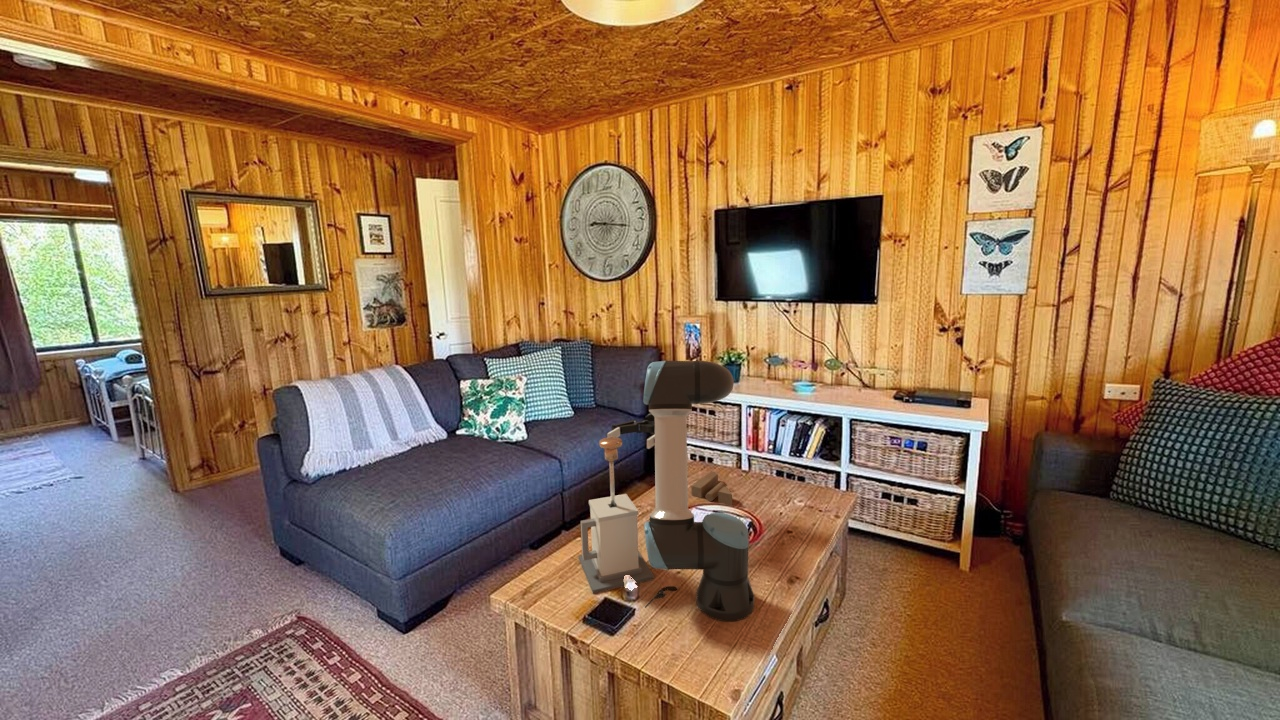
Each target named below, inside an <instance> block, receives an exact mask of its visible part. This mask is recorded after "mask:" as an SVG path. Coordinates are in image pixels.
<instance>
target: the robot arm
mask: <svg viewBox="0 0 1280 720" xmlns="http://www.w3.org/2000/svg"><path fill="white" fill-rule="evenodd" d="M733 388H734V376H733V374H732V373H731V371H730V370H729V369H728V368H727V367H726V366H724V365H722V364H719V363H716V362H712V361H707V360H661V361H653V362H651V363H649V365H648V366H647V368H646V375H645V381H644V388H643V389H644V390H643V401H642V402H643V404H644V405H646V406H648V412H649V413H648V414H647V415H645V417H644V419H643V420H642V421H637V419H635V418H634V419H631V420H629V421H624V422H620V423H617V424H612V425H611V430H610V431H609V432H607V433H606V436H607V437H606V438H608V437H616V438H620V437H621V435H625V434H631V433H636V434H641V433H645V434H650V435H651V436H649V437H648V438H647V439H646V449H647V450H650V449H651V448H653V447H654V471H655V472H654V474H655V475H654V477H655V478H654V484H655V485H654V489H655V490H654V491H655V496H654V498H655V503H654V504H655V507H654V510H653V511H652V512H651V513H649V520H648V521H647V520H646V521H645V522H644V525H643V527H644V528H643V529H644V539H645V547H646V555H647V559H648V563H649V565H650V566H651V567H652V568H654V569H657V570H666V571H669V570H702V575H701V578H700V581H699V584H698V586H697V589H696V597H695V598H696V601H695V602H696V605H697V607H698V609H699V610H700V611H701V612H702V613H703V614H705V615H706V616H707V617H710V618H712V619H714V620H717V621H723V622H725V621H726V622H734V621H740V620H742V619H745V618H747V617H748V616H750V615H751V614H752V612H753V610H754V609H755V594H754V592H753V589H752V588H753V587H752V586H751V582H750V579H749V576H748V575H749V547H750V540H749V530H748V529H749V528H748V527H747V525H746V524H745V523H744V522H743V520H741V519H740V518H737V516H734V515H731V514H728V513H723V512H712V513H710V514H706V515H704V516H703V518H702V521H695V515H694V513H693V512H692V511H691V510H690V509H689V496H688V495H689V494H688V489H689V488H688V485H689V484H688V483H689V482H688V444H687V443H688V439H687V438H688V437H687V418H688V415H690V413H692V411H693V410H692V409H693V406H692V405H694V404H695V405H696V404H697V405H699V404H701V405H703V404H710V403H713V402H714V403H715V402H717V401H721V400H723V399H725V398H727V397H728V396H729V395H730V394H731V392H733V391H732V390H733Z"/></svg>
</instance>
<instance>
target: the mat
mask: <svg viewBox="0 0 1280 720" xmlns="http://www.w3.org/2000/svg"><path fill="white" fill-rule="evenodd" d="M578 560H579V564H580V566H581V568H582V570H583V573H584V575H585V577H586V579H587V582H588V585H589V587H590V591H591V593H592V594H596V593H600V592H605V591H611V590H614V589H618V588H622V587H625V586H624V582H623V579H624V577H621V578H616V579H612V580H608V581H603V582H600V581H599V579H598V576H597V574H596V572H595V570H594V567H593V565H592V563H591V561H590V560H585V561H584V560H583V558H582V554H581V555H578ZM638 564H639V565H640V567H641V569H642V573H638V574H634V575H630V576H631V577H632V578H633V579H634V580H635V581H636V582H637V583H636V584H640V583H644V582H649V581H652V580H655V575H654V573H653V572H652V570H651V568H650V567H649V565H648V564H647V562H646V561H645V559H644V557H643V556H642V554H641V552H640V551H639V550H638ZM632 578H631V579H632Z"/></svg>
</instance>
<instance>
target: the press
mask: <svg viewBox="0 0 1280 720" xmlns="http://www.w3.org/2000/svg"><path fill="white" fill-rule="evenodd" d="M588 505H589V512H590V514H589V515H590V518H589V519H588V518H587V519H583V520H580V534H581V535H580V536H581V555H582V558H583V560H584V561H585V560H590V561H591V563H592V565H593V567H594V570H595V572H596V574H597V576H598V579H599V581H600V582H603V581H608V580H612V579H616V578H621V577H624V576H625V575H634V574H638V573H642V569H641V567H640V565H639V564H638V551H639V535H638V534H639V530H638V515H639V509H638V508H637V507H636V505H635V504H634V503H633V501H632V500H631V498H630V497H629V496H628V494H627V493H622V494H618V495H615V507H612V508H611V495H610V496H605V497H600V498H599V497H598V498H593V499H589V500H588ZM588 528H590V530H591V531H590V533H591V536H590V537H591V550H589V532H588V531H589V530H588Z"/></svg>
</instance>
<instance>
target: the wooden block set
mask: <svg viewBox="0 0 1280 720" xmlns="http://www.w3.org/2000/svg"><path fill="white" fill-rule="evenodd" d="M690 489H691V496H692V497H695V498H699V499H703V498H704V497H705V499H706V501H708V502H713V501H714V500H715V499H716V498H718V500H717V502H718V504H723V505H725V506H726V505H727V506H731V507H733V494H732V492H731V490H730V489H729V487H728V486H727V485H726V482H725V483H724V482H723V481H720V482H719V475H718V473H717V472H716V471H712V470H711V471H710V472H709V473H707V474H706V475H705V476H703V477H700V478H699V479H697V481H695V482H694V483H693V484H691V487H690Z"/></svg>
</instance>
